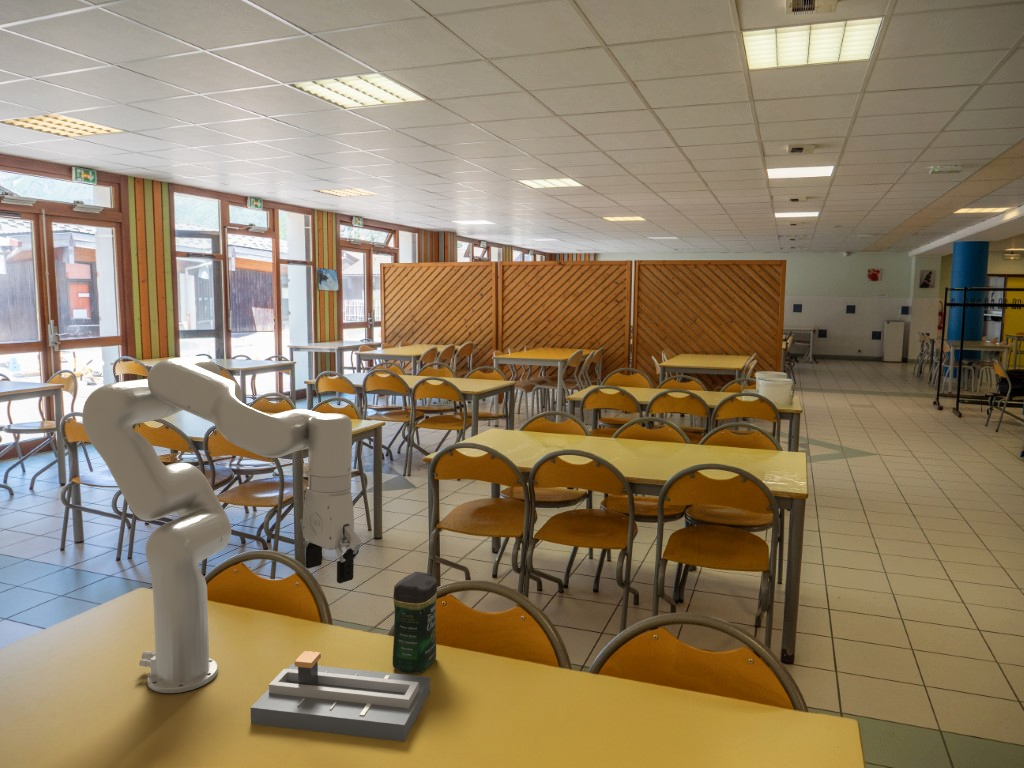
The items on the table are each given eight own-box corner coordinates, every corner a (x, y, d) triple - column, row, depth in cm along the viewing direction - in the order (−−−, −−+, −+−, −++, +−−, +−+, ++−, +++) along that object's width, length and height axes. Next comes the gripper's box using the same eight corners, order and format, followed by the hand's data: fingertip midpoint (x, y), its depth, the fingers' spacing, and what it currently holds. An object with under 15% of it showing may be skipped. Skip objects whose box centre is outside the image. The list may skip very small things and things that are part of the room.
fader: (295, 692, 130) (294, 661, 129) (304, 681, 134) (304, 650, 133) (311, 694, 129) (311, 662, 129) (321, 683, 133) (320, 652, 133)
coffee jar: (423, 678, 141) (423, 588, 140) (387, 671, 144) (387, 583, 142) (442, 656, 151) (442, 571, 149) (407, 650, 153) (408, 566, 151)
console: (250, 723, 125) (250, 698, 125) (292, 677, 141) (292, 655, 140) (404, 741, 121) (404, 716, 120) (430, 692, 136) (430, 669, 136)
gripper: (285, 476, 131) (284, 566, 133) (341, 495, 120) (340, 593, 122) (319, 470, 137) (319, 556, 139) (376, 488, 126) (375, 581, 128)
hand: (329, 573), depth 131 cm, fingers open, 9 cm apart
